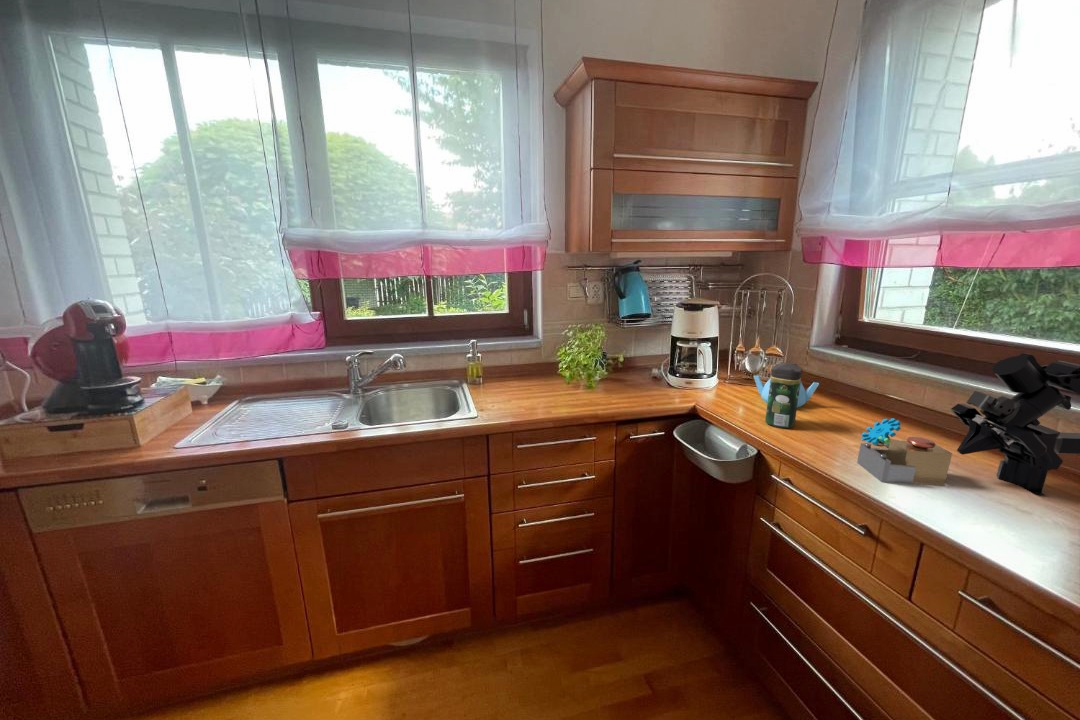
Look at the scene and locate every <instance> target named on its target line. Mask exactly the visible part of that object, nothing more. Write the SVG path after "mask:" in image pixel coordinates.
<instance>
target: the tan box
mask: <svg viewBox="0 0 1080 720" xmlns="http://www.w3.org/2000/svg"><path fill="white" fill-rule="evenodd" d="M887 449H888V453H887V459H888V460H890V461H891V464H893V465H909V466H915V467H916V470H915V474H914V479H913V481H927V482H941V483H946V481H947V477H948V472H949V469H950V465H951V460H952V455H953V453H952V452H951V451H949V450H947V449H944V447H942V446H940V445H938V444H936V443H935V442H934V441H933V440H930V439H928V438H923V437H920V436H919V437H918V436H909V437H907V440H899V439H898V440H897V439H896V440H895V439H891V440H890V443H889V447H887Z"/></svg>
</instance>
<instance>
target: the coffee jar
mask: <svg viewBox="0 0 1080 720" xmlns="http://www.w3.org/2000/svg"><path fill="white" fill-rule="evenodd" d="M802 374H803V369H802V367H801V366H799V365H798V364H797V363H793V362H784V361H783V362H780V363H777V364H774V365H773V367H772V368H771V373H770V378H771V379H770V378H769V379H770V387H769V395H768V403H766V404H767V405H766V413H765V419H764V420H765V421H764V422H765V423H766V424H767V425H770V426H772V427H775V428H779V429H785V428H786V429H790V428H792V427H793V426H794V425H795V423H796V418H797V417H796V416H797V409H798V408H797V403H798V397H799V390H800V383H802Z"/></svg>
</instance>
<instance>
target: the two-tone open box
mask: <svg viewBox="0 0 1080 720" xmlns="http://www.w3.org/2000/svg"><path fill="white" fill-rule="evenodd" d="M879 448H880V447H872V443H871V444H870V443H868V442H866V443H860V445H859V451H858V457H857V463H856V464H857V465H859V466H860V467H861V468H863V469H864V470H865V471H867V472H868V473H869V474H870V475H871V476H872V477H874V478H876V479H877V480H878V481H879V482H881V483H888V484H890V483H891V484H902V485H903V484H904V485H917V486H919V485H920V486H930V487H931V486H932V487H946V488H952V486H951V485H949V484H948V483H946V482H945V483H941V482H927V481H913V479H914V474H915V470H916V467H915V466H909V465H893V464H891V461H890V460H888V459H887V453H888V448H880V449H879Z"/></svg>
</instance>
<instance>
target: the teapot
mask: <svg viewBox="0 0 1080 720" xmlns="http://www.w3.org/2000/svg"><path fill="white" fill-rule="evenodd" d="M753 378H754V379H753V380H754V381H755V385H756V389H757V392H758V394H759V395H760V396H761V399H762V400H763V401H764V403H766V404H767V403H768V395H769V387H770V379H771V377H770V378H769V379H768V380H767V382H766V383H765V384H763V382H762V379H761V378H760V376H759V375H753ZM819 386H820V383H819V382H815V381H813V382H812V383H811V385H810V386H808V388H807V389H806V390H805V387H804V385H803V383H802V382H801V383H800V390H799V397H798V403H797V409H798V407H799V408H800V407H802V406H804V405H805V404H806V402H809V400H810V399H811V398H812V396H813V394H814V393H815V391H816V390H817V388H818V387H819Z"/></svg>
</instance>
